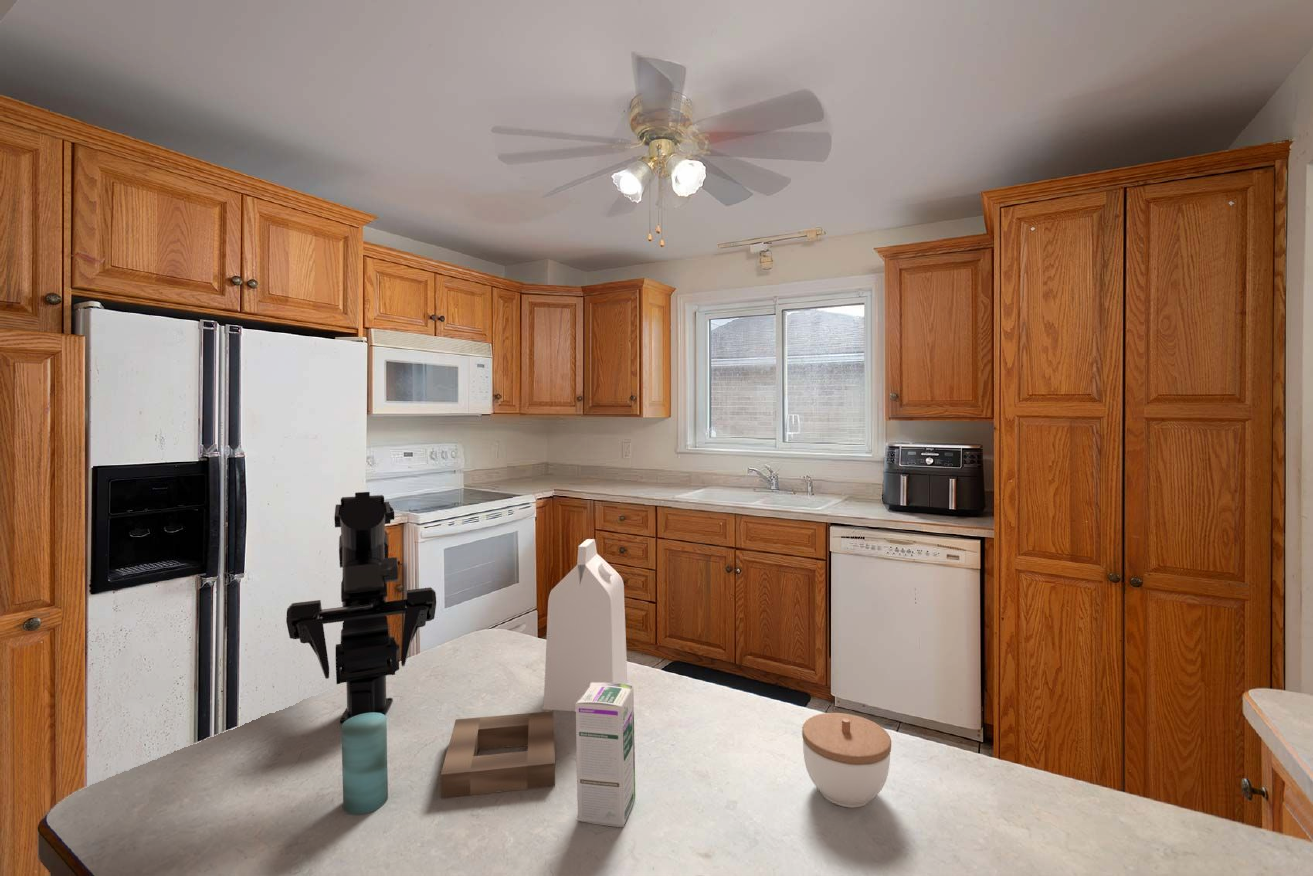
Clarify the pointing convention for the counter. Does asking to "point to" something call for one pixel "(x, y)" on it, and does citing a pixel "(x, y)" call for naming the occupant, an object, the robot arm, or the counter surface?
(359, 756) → the teal peg
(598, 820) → the syrup box
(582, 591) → the milk
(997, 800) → the counter surface
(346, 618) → the robot arm
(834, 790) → the lidded jar
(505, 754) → the walnut socket block
